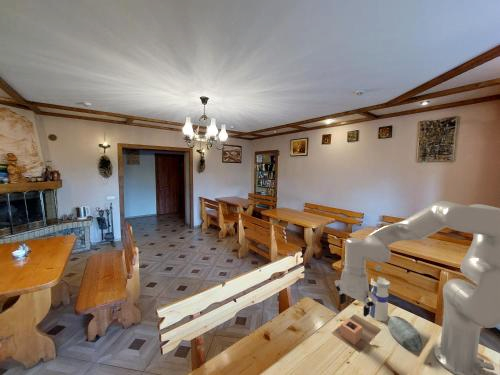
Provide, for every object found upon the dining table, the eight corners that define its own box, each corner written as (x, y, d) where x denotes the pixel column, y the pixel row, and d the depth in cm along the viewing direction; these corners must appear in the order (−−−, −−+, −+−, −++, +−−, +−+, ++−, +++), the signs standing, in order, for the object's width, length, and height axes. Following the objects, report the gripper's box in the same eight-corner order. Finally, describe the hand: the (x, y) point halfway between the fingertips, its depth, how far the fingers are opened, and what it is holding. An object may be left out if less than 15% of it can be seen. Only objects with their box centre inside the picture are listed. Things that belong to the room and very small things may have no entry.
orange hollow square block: (347, 329, 93) (348, 318, 92) (361, 337, 88) (362, 326, 88) (340, 335, 89) (341, 324, 89) (354, 344, 84) (355, 333, 84)
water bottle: (363, 313, 105) (366, 265, 103) (378, 311, 106) (381, 264, 104) (376, 325, 97) (379, 273, 95) (392, 323, 98) (396, 272, 96)
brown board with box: (354, 317, 102) (355, 302, 102) (381, 332, 93) (382, 316, 92) (331, 336, 90) (331, 320, 90) (359, 356, 81) (360, 338, 80)
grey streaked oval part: (433, 350, 80) (418, 324, 82) (410, 360, 80) (395, 334, 82) (411, 331, 93) (398, 309, 95) (391, 340, 94) (379, 318, 96)
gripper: (330, 264, 90) (330, 301, 92) (373, 280, 77) (372, 324, 78) (340, 259, 95) (339, 295, 96) (382, 274, 81) (380, 316, 83)
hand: (354, 308), depth 87 cm, fingers open, 9 cm apart
